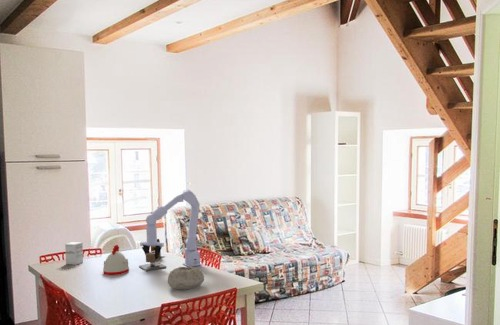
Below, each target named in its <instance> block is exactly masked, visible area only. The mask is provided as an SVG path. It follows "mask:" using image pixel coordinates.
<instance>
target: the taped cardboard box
mask: <svg viewBox="0 0 500 325" xmlns="http://www.w3.org/2000/svg"><path fill="white" fill-rule="evenodd" d="M159 261H160V259H159V257H158V259H155V251H152V252H151V251H149V252H148V253H146V255H145V262H146V263H150V262H152V263H157V262H159Z"/></svg>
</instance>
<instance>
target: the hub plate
mask: <svg viewBox="0 0 500 325" xmlns="http://www.w3.org/2000/svg"><path fill="white" fill-rule="evenodd" d="M138 267H139V268H140V269H142V270H144V271H145V272H151V271H156V270H162V269H167V265H165V264H162V263H161V262H159V261H157V262H155V263H152V262H149V263H147V264H141V265H138Z"/></svg>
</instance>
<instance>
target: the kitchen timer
mask: <svg viewBox="0 0 500 325" xmlns="http://www.w3.org/2000/svg"><path fill="white" fill-rule="evenodd" d="M102 271H103V272H102V273H103V275H105V274H106V275H105V276H119V274H120V275H124V274H126V273H128V272H129V271H130V267H129V259H128V258H126V257H125V255H124V254H123V253H122V252H121V251H120V246H119V244H116V245H114V246H113V248H112V251H111V252H110V253H109V255H108V256H107V257H106V259H105V260H103V270H102Z"/></svg>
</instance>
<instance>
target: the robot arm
mask: <svg viewBox="0 0 500 325" xmlns="http://www.w3.org/2000/svg"><path fill="white" fill-rule="evenodd" d="M184 201H185V202H186V203H188V204H189V205H190V207H191V209H190V215H189V222H188V223H189V224H188V232H187V236H186V239H185V241H184V244H185V248H184V261H185V262H183V263H182V265H183V266H185V267H197V266H198V267H199V266H202V264H201V257H200V256H201V255H200V253H199V251H198V248H197V247H198V244H197V230H198V222H199V213H200V201H199V200H198V198H197V196H196V194H195V193H194V192H193V191H191V190H190V189H185V190H183V191H182V192H180V193H178V194H177V195H175V196H174V197H173V198H172V199H171V200H170V201H168V202H167V203H166V204H165V205H160V206H157V207H156V209H155V210H154V211H151V212H150V214H148V215H147V216H146V218H145V221H146V229H145V230H146V241H141V242H139V246H140V247H141V249H142V251H143V252H144V255H145V256H146V253H148V252H150V251H151V246H156V247H154V250H155V259H158V257H159V253H160V250H161V249H162V248H163V247H164V246H165V242H160V243H159V242H157V239H158V237H157V236H158V234H157V221H159V220H160V219H162V218H163V217H164V216H166V215H167V214H168V210H170V209H172V208H173V207H174V206H175V205H177V204H178V203H183V202H184Z"/></svg>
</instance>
